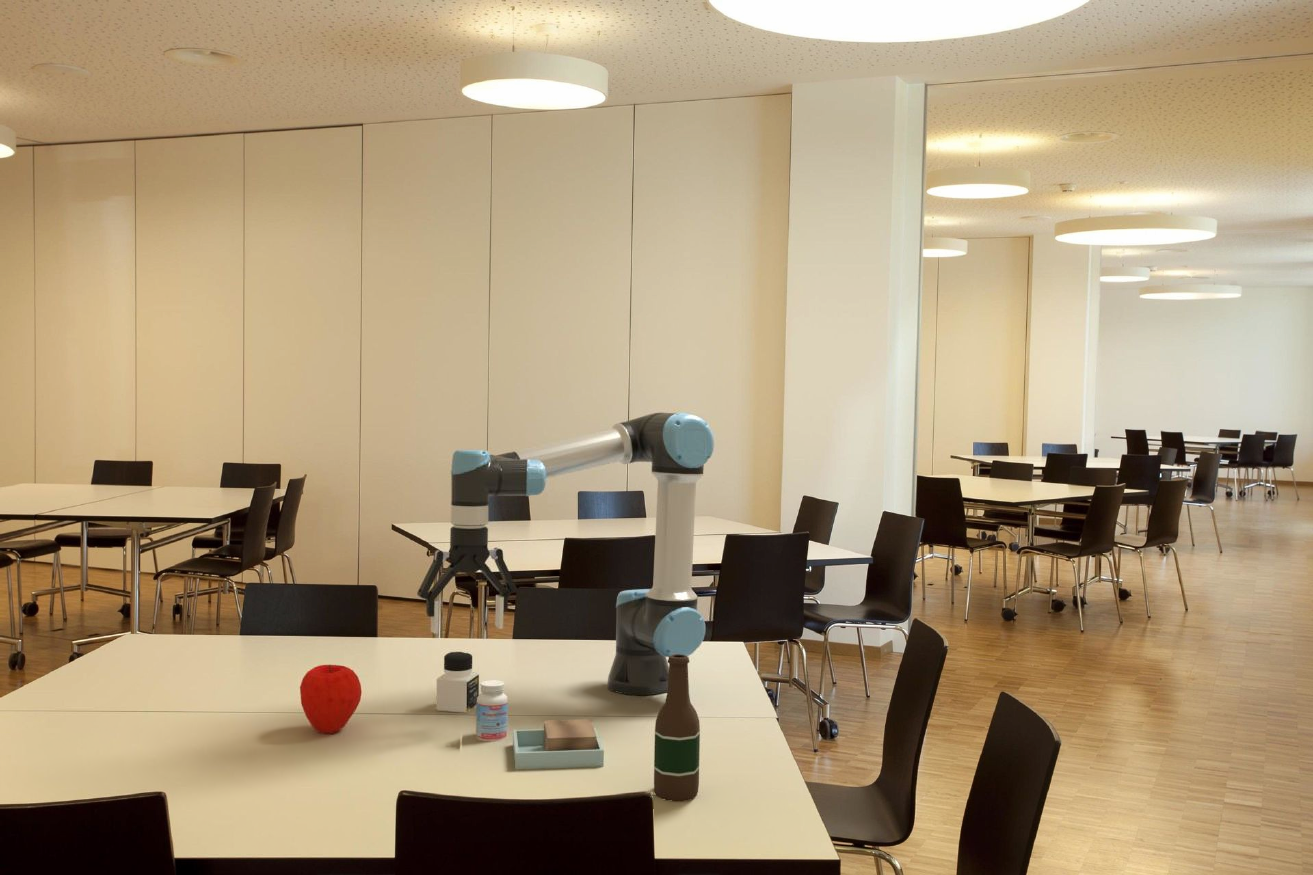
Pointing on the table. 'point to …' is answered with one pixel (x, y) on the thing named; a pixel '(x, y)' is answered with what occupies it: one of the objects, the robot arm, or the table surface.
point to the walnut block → (569, 735)
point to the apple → (330, 697)
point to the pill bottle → (491, 712)
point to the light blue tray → (551, 753)
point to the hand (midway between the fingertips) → (467, 630)
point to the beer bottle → (677, 738)
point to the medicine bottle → (457, 684)
